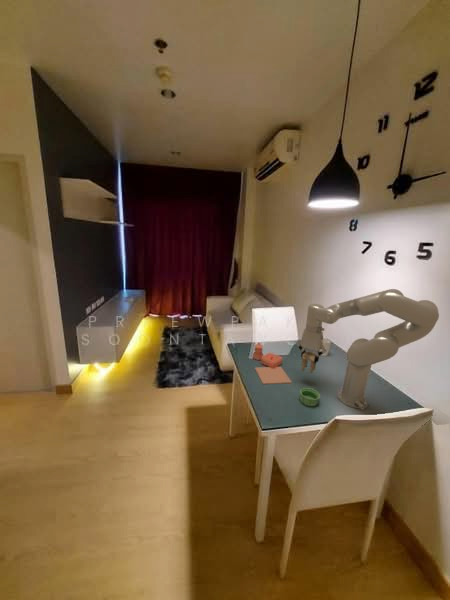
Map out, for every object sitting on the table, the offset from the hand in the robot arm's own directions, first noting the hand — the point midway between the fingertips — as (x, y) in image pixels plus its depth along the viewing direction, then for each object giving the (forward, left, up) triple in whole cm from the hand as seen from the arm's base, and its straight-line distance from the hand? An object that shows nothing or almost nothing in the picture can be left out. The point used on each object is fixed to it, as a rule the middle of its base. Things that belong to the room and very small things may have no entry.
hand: (309, 360), depth 131 cm
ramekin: (-16, +6, -13) cm, 21 cm away
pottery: (+23, +15, -13) cm, 31 cm away
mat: (+7, +16, -13) cm, 22 cm away
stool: (0, 0, -6) cm, 6 cm away
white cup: (+31, -28, -13) cm, 44 cm away
